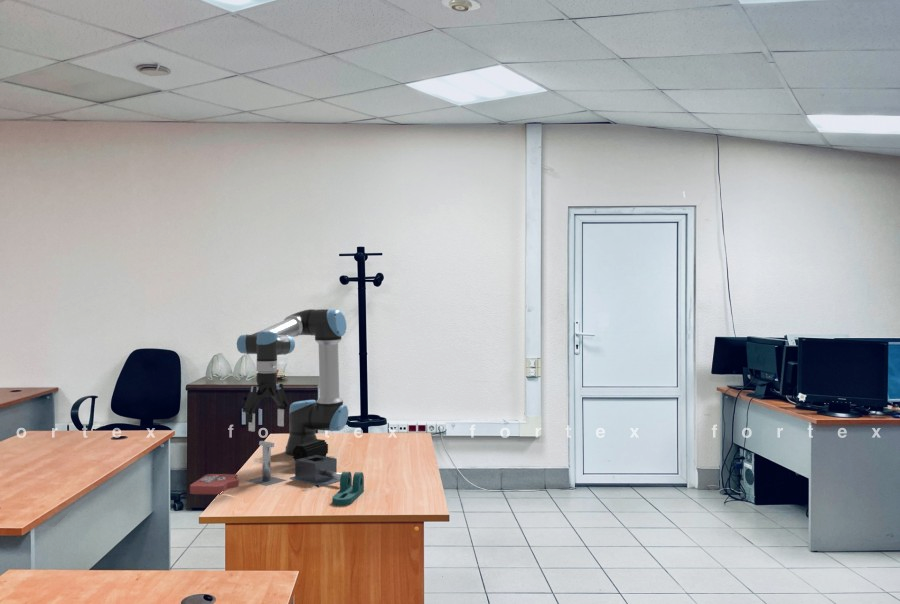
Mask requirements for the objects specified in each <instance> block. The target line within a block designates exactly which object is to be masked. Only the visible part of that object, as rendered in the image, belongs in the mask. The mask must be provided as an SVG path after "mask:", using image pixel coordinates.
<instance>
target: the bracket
mask: <svg viewBox="0 0 900 604" xmlns="http://www.w3.org/2000/svg"><path fill="white" fill-rule="evenodd" d="M364 492H365V478H364V472H362V471H361V472H360V471H355V472H354V474H353V477H352V473H351V471H342V472H341V478H340V481H339V490H338V491H337V492H336V493H335V494H334V495H333V496H332V497H331V498H332V501H331V502H332V503H331V504H332V505H334V506H339V507H340V506H341V507H342V506H343V507H344V506H349V505H351V504H353V503H354V502H355V501H356V500H357V499H359V497H361V495H362V494H363V493H364Z"/></svg>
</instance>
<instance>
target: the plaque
mask: <svg viewBox="0 0 900 604" xmlns="http://www.w3.org/2000/svg"><path fill="white" fill-rule="evenodd" d="M237 487H238V488H239V479H238V474H236V473H233V474H231V473H222V474H221V473H208V474H205V475H203V476H202V477H200V478H199V479H197V480H196V481H193V483H191V484H190V485H189V494H190V495H222V494H224V492H225V491H227V490H228V489H233V488H237ZM222 491H223V492H222ZM221 492H222V493H221ZM220 493H221V494H220Z"/></svg>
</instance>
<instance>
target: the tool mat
mask: <svg viewBox="0 0 900 604" xmlns="http://www.w3.org/2000/svg"><path fill="white" fill-rule="evenodd" d="M245 481H246V482H249V483H253V484H257V485H262V486H266V487H267V486H271V485H276V484H279V483H283V482H286V481H288V479H285V478H280V477H275V476H271V479H270V481H262V476H259V477H254V478H251V479H247V480H245Z"/></svg>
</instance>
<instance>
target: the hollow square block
mask: <svg viewBox="0 0 900 604" xmlns="http://www.w3.org/2000/svg"><path fill="white" fill-rule="evenodd" d="M337 464H338V459H337V458H335V457H330V456H326V457H325V456H320V455H314V456H310V457H306V458H301V459H297V460H295V461H294V476H292V477H289V480H293V481H298V482H303V483H306V484H310V485H314V487H318V488H320V487H323V486H326V485H327V486H328V485H330V484H331V485H332V484H333V483H338V482H340V478H341V474H342V472H341V473H339V472H338V471H337V470H338V469H337V466H338V465H337Z"/></svg>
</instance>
